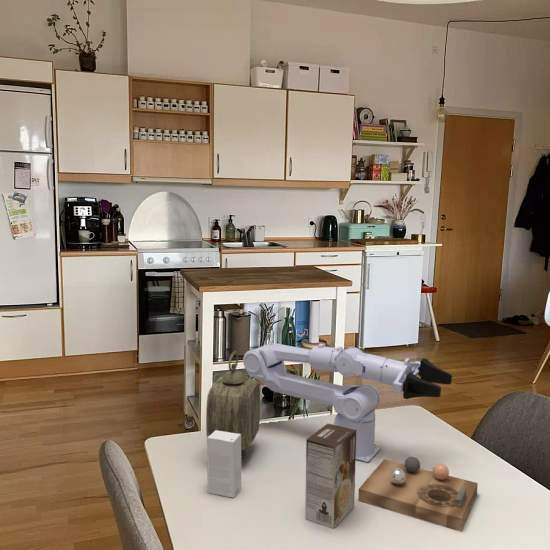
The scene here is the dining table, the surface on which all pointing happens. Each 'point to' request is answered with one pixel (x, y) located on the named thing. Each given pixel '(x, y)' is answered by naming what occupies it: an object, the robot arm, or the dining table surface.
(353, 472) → the coffee box
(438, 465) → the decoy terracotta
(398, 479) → the steel ball
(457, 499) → the bore plate
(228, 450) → the skincare box
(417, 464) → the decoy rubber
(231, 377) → the ribbed lantern with ring
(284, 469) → the dining table surface
